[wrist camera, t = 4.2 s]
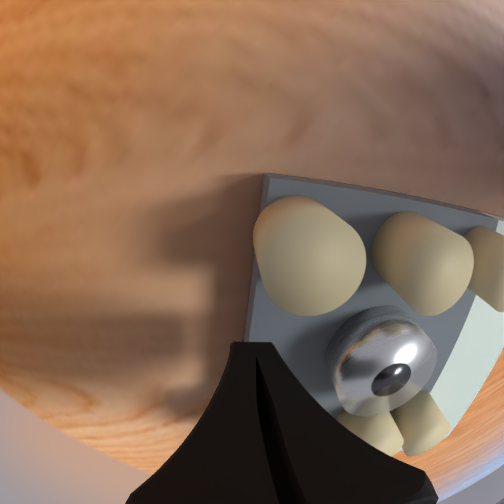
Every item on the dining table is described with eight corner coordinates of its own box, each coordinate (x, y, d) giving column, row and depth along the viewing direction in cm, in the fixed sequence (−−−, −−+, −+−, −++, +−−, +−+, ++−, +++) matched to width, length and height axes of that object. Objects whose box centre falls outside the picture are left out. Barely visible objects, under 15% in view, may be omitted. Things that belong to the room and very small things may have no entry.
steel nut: (425, 305, 11) (453, 332, 9) (394, 379, 12) (413, 410, 11) (338, 304, 11) (359, 337, 9) (314, 386, 12) (326, 422, 10)
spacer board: (527, 225, 12) (577, 249, 8) (438, 423, 17) (461, 461, 13) (255, 171, 10) (270, 190, 7) (224, 448, 15) (226, 505, 12)
